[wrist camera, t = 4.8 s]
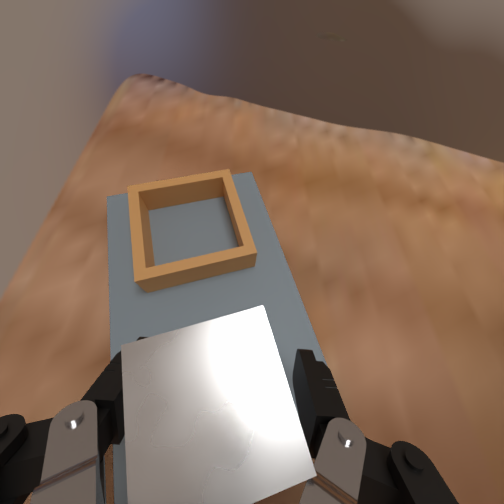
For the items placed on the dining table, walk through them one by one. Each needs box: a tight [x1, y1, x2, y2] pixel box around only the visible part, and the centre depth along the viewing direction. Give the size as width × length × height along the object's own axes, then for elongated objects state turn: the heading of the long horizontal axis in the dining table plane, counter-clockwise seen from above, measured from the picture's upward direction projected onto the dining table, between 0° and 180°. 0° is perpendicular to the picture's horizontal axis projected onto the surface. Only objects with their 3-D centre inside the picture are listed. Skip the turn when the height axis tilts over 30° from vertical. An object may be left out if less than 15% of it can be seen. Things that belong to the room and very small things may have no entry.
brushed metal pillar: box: [121, 306, 317, 504], centre depth 11 cm, size 4×4×10 cm
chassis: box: [107, 169, 328, 504], centre depth 18 cm, size 14×22×4 cm, turn 16°
